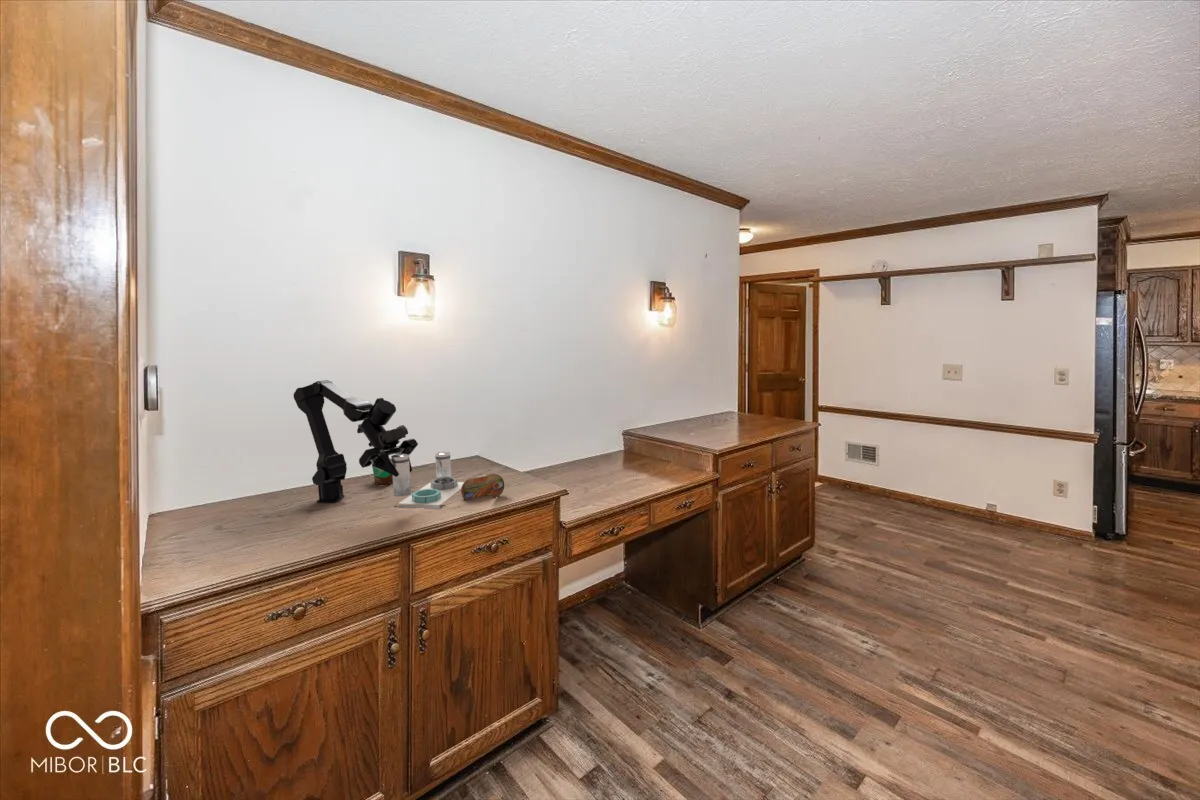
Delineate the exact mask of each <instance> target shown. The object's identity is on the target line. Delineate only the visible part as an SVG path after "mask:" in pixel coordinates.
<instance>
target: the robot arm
mask: <svg viewBox="0 0 1200 800" xmlns="http://www.w3.org/2000/svg"><path fill="white" fill-rule="evenodd" d="M293 399H294V401H295V403H296V406H297V409H299V410H300V411H301V412H302V413H304V414H305V416H306V418H307V419H306V420H307V421H308V425H309V427H310V433H311V435H312V438H313V441H314V443H315V447H316V451H317V454H318V458H317V459H316V460H317V461H316V463H315V464H316V469H317V470H316V472H315V473H314V474H313V476H312V477H311V480H312V484H313V485H316V486H317V488H318V491H317V492H318V499H317V500H316V503H336V501H337V502H338V501H340V500H341V499H343V498H344V497H345V495H344V489H343V484H342V482H341V481H342V480H343V481H344V480H345V478H346V475H347V469H348V467H347V465H348V464H347V462H346V460H345V455H344V454H343V453H339V452H337V451H336V450H335V446H334V444H333V440H332V438H331V437H332V436H331V434H330V431H329V427H328V425H327V421H326V419H325V414H324V412H323V408H324V404H325V399H327V400H329V401H330V402H331V403H333V404H335V405H336V406H337V407H339V408H341V410H343V415H344V416H345V417H346V418H347V419H348V420H349V421H350V422H351V423H357V422H361V421H362V422H361V423H360V424H358V425H357V429H356V433H357V434H362V433H363V434H364V436H365V437H366V439H367V440H368V441H369V443H368V446H369V448H368V449H365V451H364V452H363V453H362V454H361V456H360V457H359V458H358V465H360V466H361V468H362V469H363V468H368V467H370V466H371V468H372V467H376V468H379V469H381V470H384V471H386V472H388V473H390V474H392V475H393V476H395V477H397V476H398V472H397V470H396V469H395V467H394V466H393V464H392V463H391V461H390V460H389V458H390V456H391V455H392V456H393V455H397V454H408V455H409V456H410V455H411V454H412V453H413V452H414V450H415V449H416V448H417V446H418V445H419V443H418V441H417V440H416V439H415V438H409V439H405V438H406V437H407V436H406V435H408V434H409V430H408V428H407V427H406V425H404V424H402V425H399V426H397V427H396V428H392V429H390V430H389V429H388V430H386V429H385V427H384V426H385V425H387V424H388V422H389V421H390V420H391V419H392V417H393V416H394V414H395V413H396V411H397V408H396V405H395V404H394V403H392V402H390V401H388V400H385V399H384V398H383V397H379V398H376V400H375V402H374V403H373V404H372V403H371V402H370V401H367V400H365V399H363V398H356V397H353V396H352V395H351V394H349V393H347V392H346V391H345V390H342V389H341V388H339V387H338V386H337V385H336V384H333V381H331V380H328V379H327V380H326V379H325V380H318V381H317V380H316V381H315V382H313V383H310V384H309V385H306V386H302V387H297V388H296V389H295V391H294V393H293ZM403 438H404V439H405V440H403V441H402V442H401V443H400V440H402V439H403ZM398 444H400V445H398ZM370 447H371V448H370ZM370 460H372V461H373V463H374V464H373V465H371V463H372V462H371V461H370ZM409 467H410V473H412V471H413V467H412V463H411V460H410V457H409ZM342 497H343V498H342ZM339 499H340V500H339Z"/></svg>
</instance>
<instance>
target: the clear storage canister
mask: <svg viewBox="0 0 1200 800" xmlns="http://www.w3.org/2000/svg"><path fill="white" fill-rule="evenodd" d="M390 456H391V455H390ZM409 458H410V455H408V454H397V455H396V454H392V456H391V457H390V459H391V461H392V464H393V466H394V467H395V469H396V470H397V472H398V476H397V477H395V476H393V475H392V476H393V484H392V488H393V489H392V491H393V492H392V493H393V496H394V497H406V496H407V497H408V496H410V495H412V493H411V492H412V490H411V489H412V488H411V472H410V467H409Z"/></svg>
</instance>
